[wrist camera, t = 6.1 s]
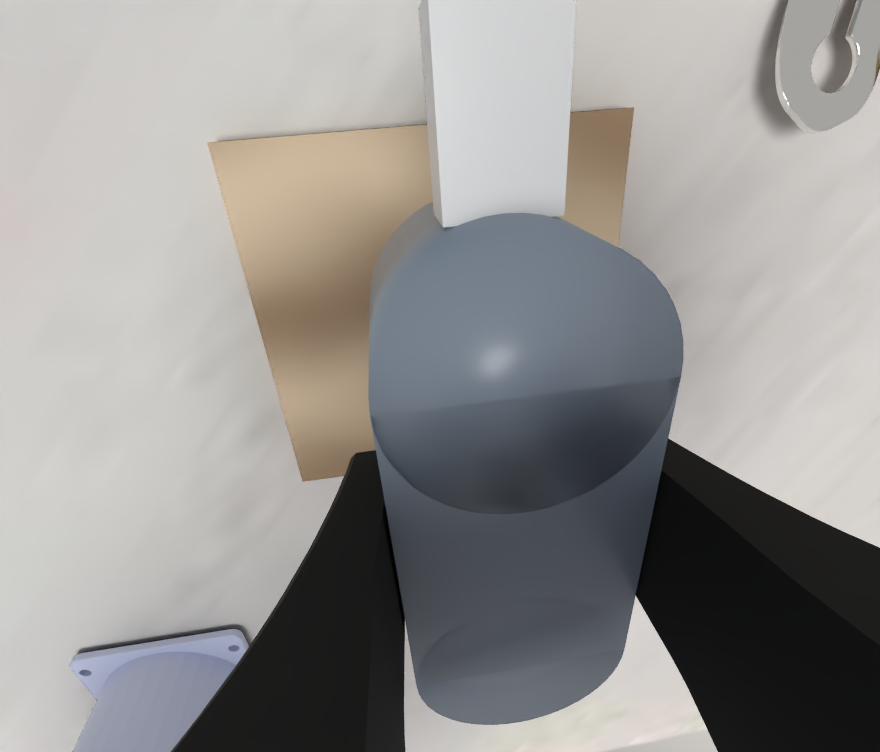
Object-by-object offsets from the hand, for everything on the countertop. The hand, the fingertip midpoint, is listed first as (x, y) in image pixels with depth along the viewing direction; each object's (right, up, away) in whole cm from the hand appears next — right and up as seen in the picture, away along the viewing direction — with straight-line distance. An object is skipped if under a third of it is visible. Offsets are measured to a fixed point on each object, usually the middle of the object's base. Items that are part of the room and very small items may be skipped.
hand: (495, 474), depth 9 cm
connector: (0, +2, +1) cm, 2 cm away
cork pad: (-1, +4, +8) cm, 9 cm away
